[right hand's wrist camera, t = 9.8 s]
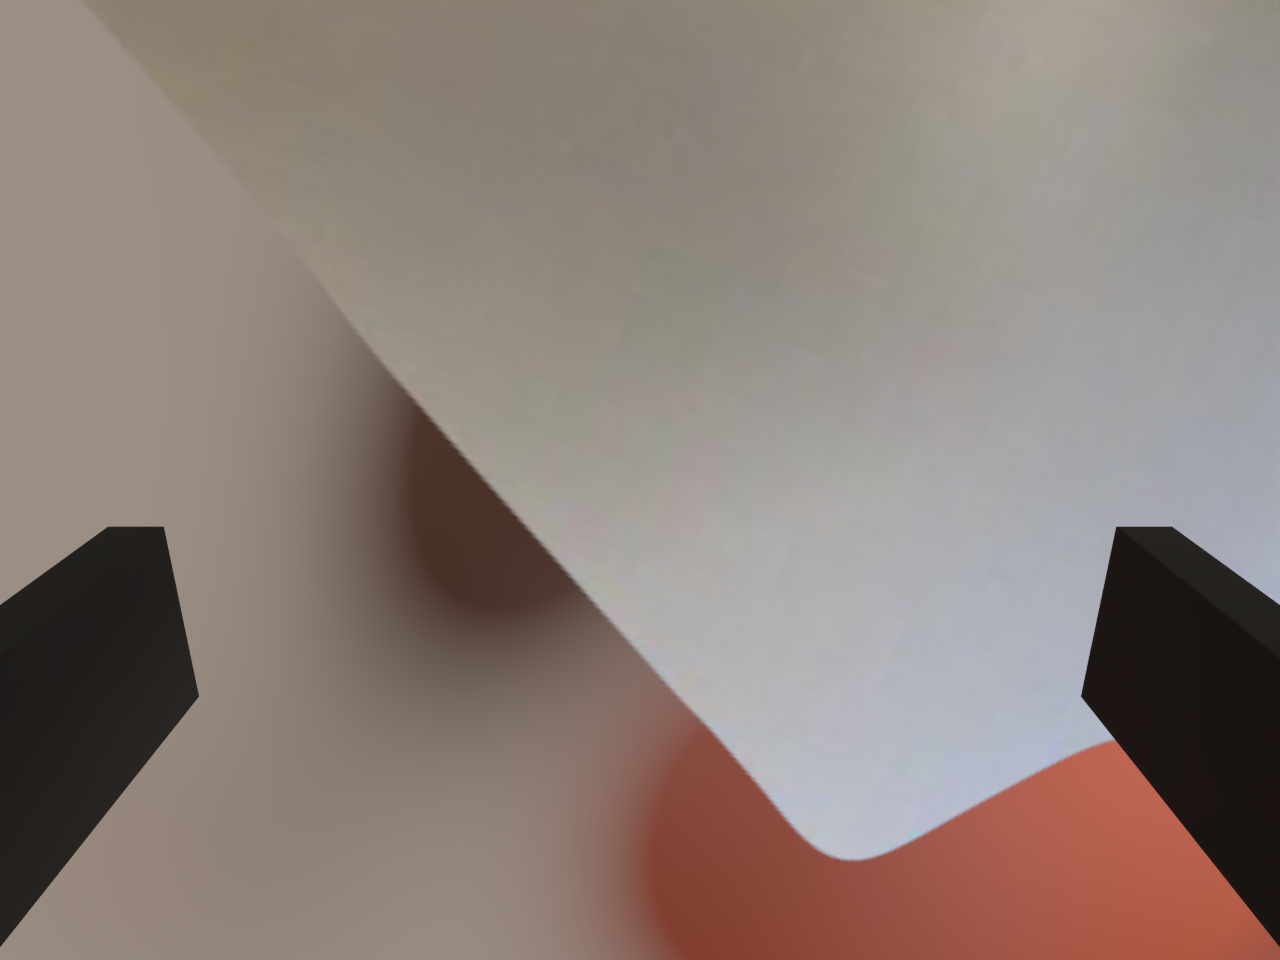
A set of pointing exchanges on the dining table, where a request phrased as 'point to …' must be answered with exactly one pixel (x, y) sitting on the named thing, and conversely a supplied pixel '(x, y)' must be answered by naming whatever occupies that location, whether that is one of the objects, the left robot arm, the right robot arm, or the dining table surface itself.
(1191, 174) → the dining table surface
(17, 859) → the right robot arm
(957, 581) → the dining table surface
